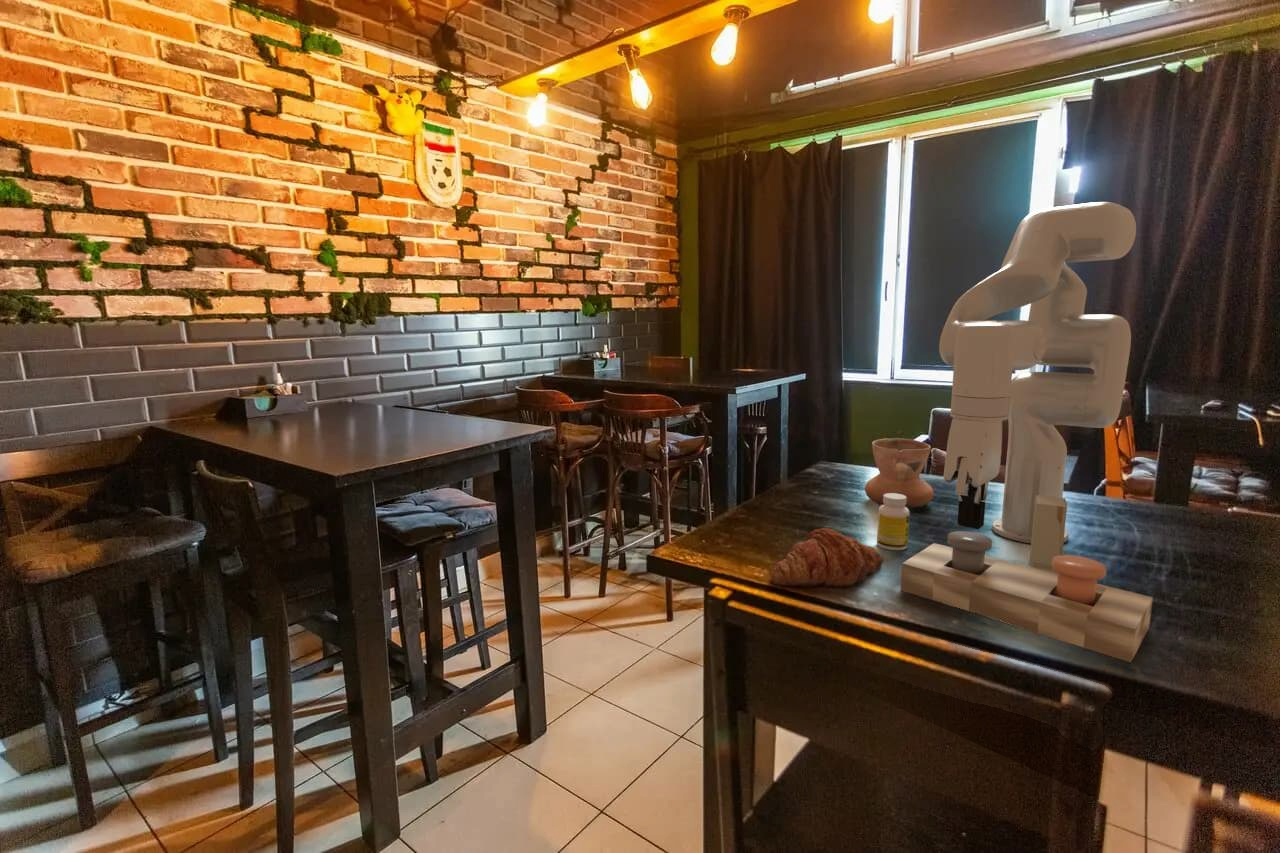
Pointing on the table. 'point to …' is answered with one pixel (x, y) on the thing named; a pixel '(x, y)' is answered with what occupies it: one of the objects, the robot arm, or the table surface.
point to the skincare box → (1047, 531)
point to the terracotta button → (1077, 578)
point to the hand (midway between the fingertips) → (970, 525)
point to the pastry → (826, 561)
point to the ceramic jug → (900, 471)
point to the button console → (1032, 601)
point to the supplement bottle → (893, 522)
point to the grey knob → (969, 551)
